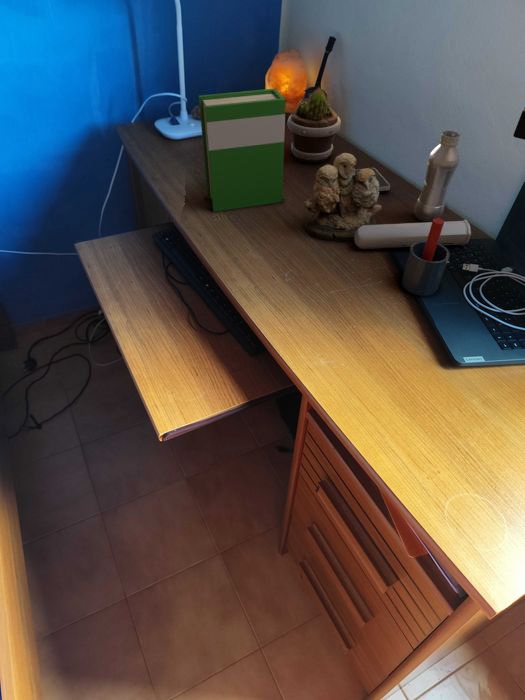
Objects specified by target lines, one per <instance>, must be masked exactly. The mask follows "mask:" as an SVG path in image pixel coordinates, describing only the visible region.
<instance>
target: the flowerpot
mask: <svg viewBox="0 0 525 700" xmlns="http://www.w3.org/2000/svg"><path fill="white" fill-rule="evenodd" d="M320 87H321V85H320V86H318V87H316V89H315V88H314V91H313V92H311V94H309V97H307V98H306V99H305V100H302V101H300V103H297V104H298V106H297V107H295V108H294V109H293V110H292V112H291V113H292V114H290V115H289V116H288V118H287V122H286V127H287V128H288V130H289V131H290V132H291V141H292V142H291V144H290V147H291V148H290V151H291V152H292V154H293V156H294V158H295V159H297V160H298V161H300V162H303V163H309V164H310V163H311V164H312V163H314V164H315V163H316V164H317V163H318V164H319V163H323V162H325V161H326V160H328V159H329V157H330V156H331V155H332V151H333V149H334V145H333V142H334V140H335V136H336V134H337V133H338V132H339V130H340V128H341V124H342V121H341V118H340V117H339V116H338V113H336V112H335V111H334V110H333V109H332V108H331V104H329V102H328V100H329V96H328V95H326V91H325V90H326V89H325V88H324V89H323V88H320Z"/></svg>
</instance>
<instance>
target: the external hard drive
mask: <svg viewBox="0 0 525 700" xmlns="http://www.w3.org/2000/svg"><path fill="white" fill-rule="evenodd" d="M362 169H363V168H357V169H354V170H355V174H356V173H357V172H359V171H360V170H362ZM365 169H371V170H373V171H374V173H375V176H376V180H377V181H378V182H379V194H386V193H387V194H388V193H389V192H390V189H391V185H390V183H389V182H388V181H387V180H386V179H385V177H384V176H382V175H381V173H380V172H379V171H378V170H377V169H376V168H375V167H367V168H365Z"/></svg>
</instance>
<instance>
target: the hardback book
mask: <svg viewBox="0 0 525 700" xmlns="http://www.w3.org/2000/svg"><path fill="white" fill-rule="evenodd" d="M286 103H287V100H286V98H285V97H284V96H283V95H282V94H281V93H280V91H279V90H278V89H276V88H265V89H256V90H244V91H243V90H242V91H234V92H224V93H214V94H212V93H211V94H203V95H198V104H199V114H200V115H199V117H200V126H201V139H202V149H203V159H204V160H203V161H204V172H205V184H206V193H207V194H206V196H207V197H206V198H207V200H211V203H212V211H213V212H221V211H228V210H234V209H242V208H247V207H248V208H249V207H257V206H262V205H270V204H277V203H282V201H283V183H284V158H285V157H284V156H285V155H284V154H285V131H286V130H285V128H286V127H285V125H286V105H287V104H286Z"/></svg>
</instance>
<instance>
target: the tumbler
mask: <svg viewBox="0 0 525 700" xmlns="http://www.w3.org/2000/svg"><path fill="white" fill-rule="evenodd" d="M426 242H427V241H419V242H417V243H414V244H413V245H412V246H411V247H409V248H410V249H409V252H408V256H407V260H406V263H405V267H404V270H403V274H402V276H401V286H402V287H403V289H405V290H406V291H407V292H408V293H411V294H412V295H416V296H421V297H427V296H431V295H433V294H436V292H437V291H438V289H439V288H440V284H441V282H442V279H443V276H444V273H445V271H446V267H447V265H448V262H449V259H450V251H449V250H448V248H447V247H446V246H445V245H441V244H438V243H437V246H436V249H435V252H434V256H433V259H432V261H426V260H423V259H421V258H422V255H423V251H424V248H425V245H426ZM435 289H436V290H435ZM433 290H434V291H433ZM420 291H422V292H420ZM428 291H431V292H428Z"/></svg>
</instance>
